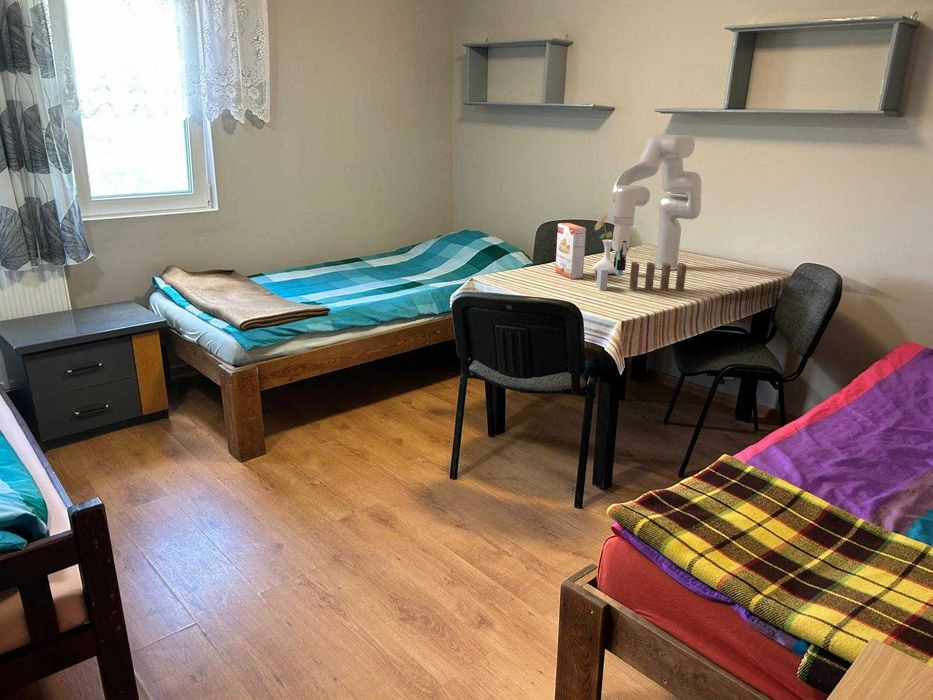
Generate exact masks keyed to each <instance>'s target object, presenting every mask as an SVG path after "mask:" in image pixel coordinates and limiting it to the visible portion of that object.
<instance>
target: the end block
mask: <svg viewBox="0 0 933 700" xmlns="http://www.w3.org/2000/svg"><path fill="white" fill-rule="evenodd" d="M596 274H597V275H596V285H597V286H596V287H597V289H598V288H599V289H598V290H599V291H600V290H607V289H608V280H609V279H608V276H609V274H608V269H607V268H606V267H605V266H598V271H597V272H596Z"/></svg>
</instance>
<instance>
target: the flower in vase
mask: <svg viewBox="0 0 933 700" xmlns="http://www.w3.org/2000/svg"><path fill="white" fill-rule="evenodd" d="M607 218H608V215H607V214H603V215H602V216H601V217H600V219H598V220H597V223H596V224H595V225H594V230H595V231H598V230H599V229H600V228H602V227H603V228H604V231H605V232H604V233H602V234H601V235H600V236H599V239H600V240H601V239H602V243H603V246H604V256H603V258H602V259H601V260H599V261H598V262H596V263H595V264H594V265H593V266H592V268H591V269H592V270H593V272H596V273H597V271H598V266H605V267H606V268H607V269H608V275H611V274H615V267H614V260H613V259H611V249H612V240H613V239H609V238H611V237H612V238H613V233H612V231H609V232H607V230H606V226H605V223H606V222H607ZM605 237H606V239H604V238H605Z"/></svg>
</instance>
